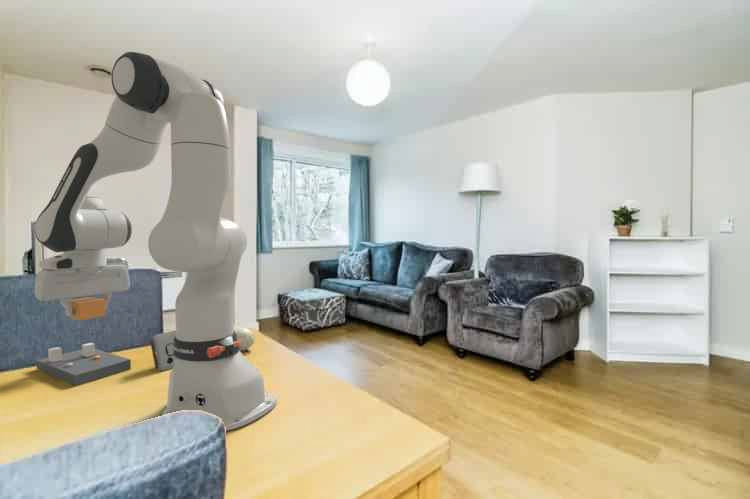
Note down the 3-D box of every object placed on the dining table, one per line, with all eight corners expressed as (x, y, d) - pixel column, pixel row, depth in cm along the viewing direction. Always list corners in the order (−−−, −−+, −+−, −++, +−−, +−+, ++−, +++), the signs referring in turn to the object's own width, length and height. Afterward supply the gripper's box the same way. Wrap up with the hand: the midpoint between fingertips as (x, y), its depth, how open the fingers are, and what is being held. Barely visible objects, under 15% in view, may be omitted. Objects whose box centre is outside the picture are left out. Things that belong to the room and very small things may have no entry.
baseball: (249, 354, 108) (248, 332, 108) (225, 353, 109) (225, 330, 109) (259, 347, 115) (259, 325, 114) (236, 346, 116) (236, 324, 115)
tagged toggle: (95, 355, 99) (94, 343, 98) (86, 357, 97) (85, 345, 97) (91, 353, 100) (90, 342, 99) (82, 355, 98) (82, 344, 98)
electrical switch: (160, 372, 94) (158, 336, 94) (148, 370, 97) (146, 335, 97) (194, 361, 102) (191, 327, 102) (182, 359, 105) (180, 327, 105)
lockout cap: (105, 315, 99) (105, 299, 99) (79, 320, 94) (79, 302, 93) (94, 313, 102) (93, 297, 101) (68, 317, 96) (68, 300, 96)
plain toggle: (62, 359, 95) (61, 348, 95) (52, 362, 93) (51, 350, 93) (58, 358, 96) (57, 347, 96) (48, 360, 94) (48, 349, 94)
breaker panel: (130, 369, 96) (130, 357, 96) (75, 386, 86) (75, 372, 85) (90, 355, 106) (90, 345, 105) (36, 369, 95) (36, 357, 95)
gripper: (121, 257, 107) (122, 304, 108) (30, 262, 89) (32, 318, 90) (134, 258, 104) (135, 306, 105) (42, 263, 86) (44, 322, 87)
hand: (87, 312), depth 98 cm, fingers closed on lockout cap, 6 cm apart
